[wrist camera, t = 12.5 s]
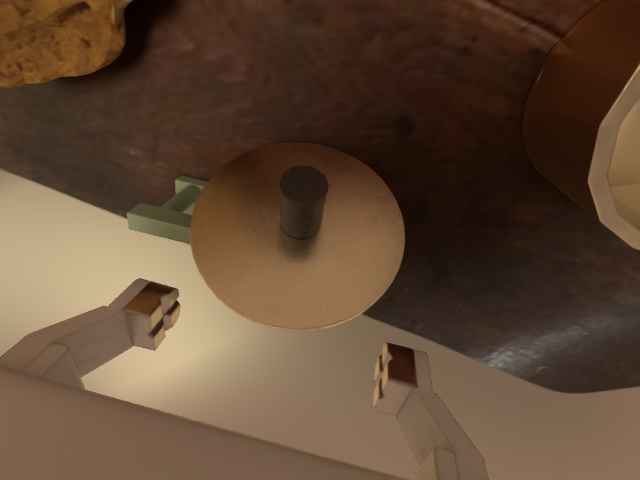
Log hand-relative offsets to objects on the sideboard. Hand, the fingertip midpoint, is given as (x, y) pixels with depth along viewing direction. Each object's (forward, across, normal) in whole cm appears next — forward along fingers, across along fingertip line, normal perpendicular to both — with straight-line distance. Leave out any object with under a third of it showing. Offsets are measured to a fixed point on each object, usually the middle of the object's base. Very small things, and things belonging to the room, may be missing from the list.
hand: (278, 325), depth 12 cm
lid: (+8, +1, 0) cm, 8 cm away
